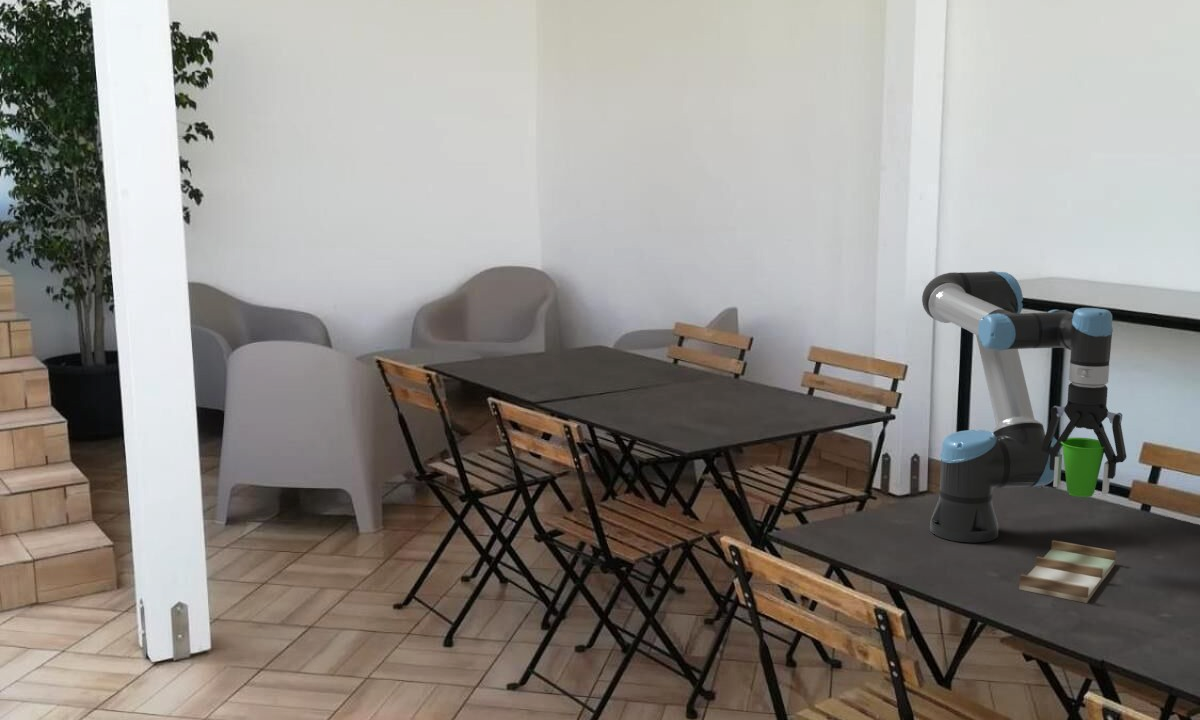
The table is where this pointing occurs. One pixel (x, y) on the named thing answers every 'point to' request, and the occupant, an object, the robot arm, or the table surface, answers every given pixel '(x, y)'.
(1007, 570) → the table surface
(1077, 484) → the cup
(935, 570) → the table surface
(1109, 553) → the wooden divided tray
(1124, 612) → the table surface
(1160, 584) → the table surface
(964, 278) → the robot arm
